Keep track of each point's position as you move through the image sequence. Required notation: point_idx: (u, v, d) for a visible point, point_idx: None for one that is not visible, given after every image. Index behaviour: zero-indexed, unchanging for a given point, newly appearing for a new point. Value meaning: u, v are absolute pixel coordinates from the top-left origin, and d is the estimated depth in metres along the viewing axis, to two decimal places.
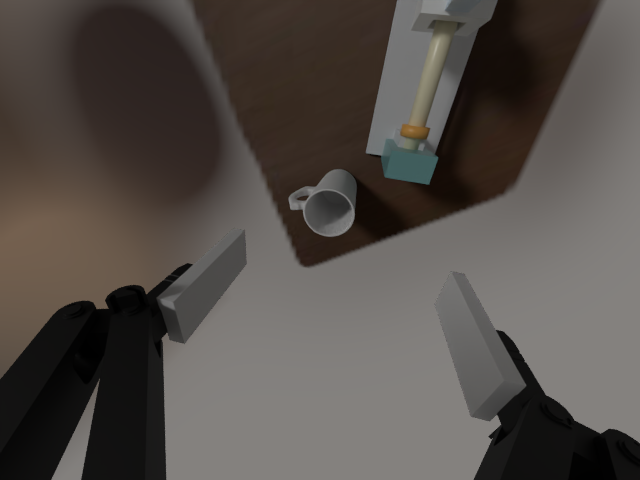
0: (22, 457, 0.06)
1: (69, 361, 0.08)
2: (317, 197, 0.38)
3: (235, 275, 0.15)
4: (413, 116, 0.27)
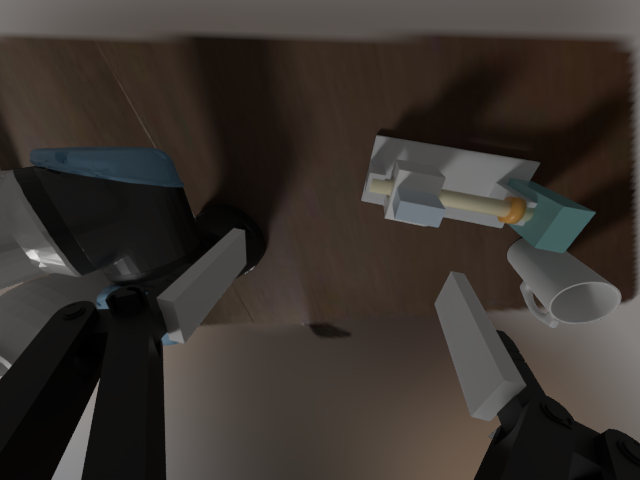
0: (22, 457, 0.06)
1: (69, 361, 0.08)
2: None
3: (235, 275, 0.15)
4: (497, 215, 0.29)
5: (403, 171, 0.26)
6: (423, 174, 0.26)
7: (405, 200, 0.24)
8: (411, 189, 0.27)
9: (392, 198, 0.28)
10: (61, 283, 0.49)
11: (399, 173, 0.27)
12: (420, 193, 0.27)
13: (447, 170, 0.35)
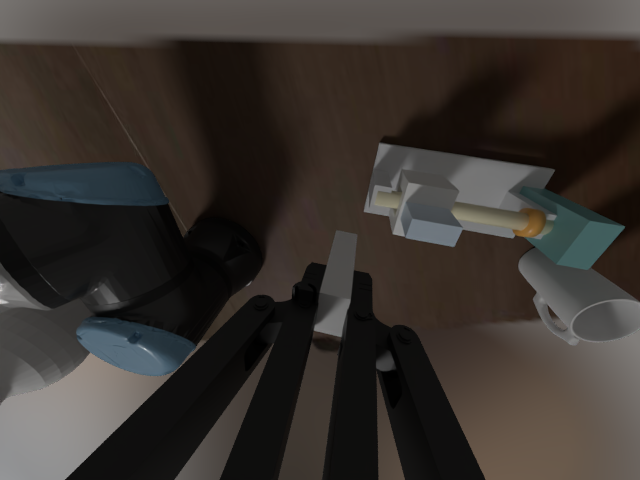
0: (192, 422, 0.07)
1: (244, 350, 0.09)
2: None
3: None
4: (513, 228, 0.27)
5: (412, 184, 0.24)
6: (434, 187, 0.24)
7: (418, 218, 0.21)
8: (421, 203, 0.25)
9: (400, 213, 0.26)
10: None
11: (408, 186, 0.24)
12: (431, 207, 0.24)
13: (455, 179, 0.32)
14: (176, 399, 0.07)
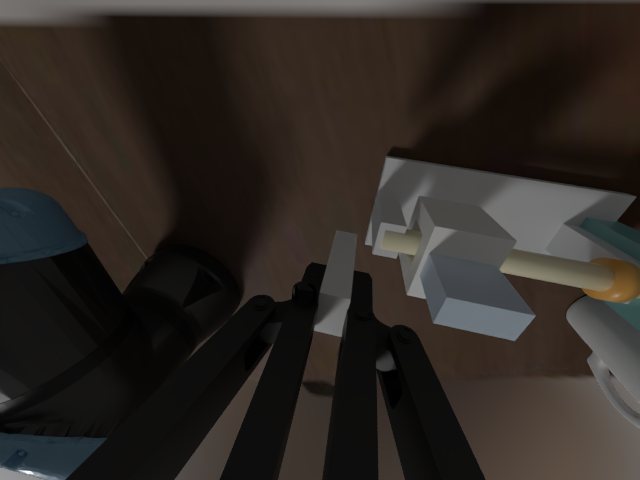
0: (192, 422, 0.07)
1: (243, 350, 0.09)
2: None
3: None
4: (587, 288, 0.18)
5: (441, 229, 0.15)
6: (476, 234, 0.15)
7: (456, 295, 0.13)
8: (454, 256, 0.16)
9: (420, 268, 0.17)
10: None
11: (434, 232, 0.16)
12: (470, 263, 0.16)
13: (491, 206, 0.24)
14: (176, 399, 0.07)
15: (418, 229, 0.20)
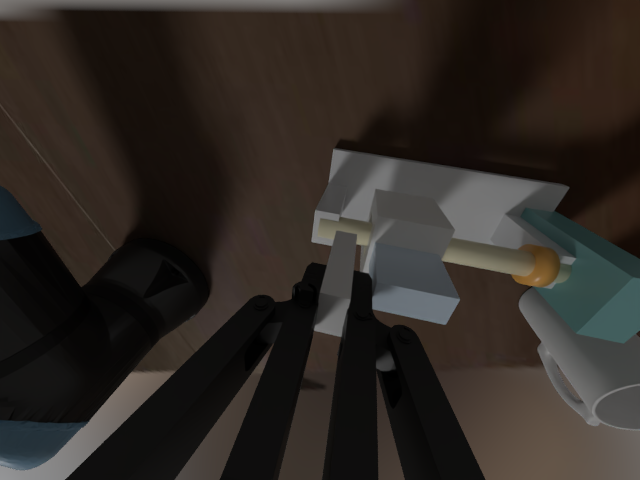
0: (192, 422, 0.07)
1: (244, 350, 0.09)
2: None
3: None
4: (512, 273, 0.19)
5: (384, 218, 0.16)
6: (417, 223, 0.16)
7: (387, 280, 0.13)
8: (398, 245, 0.17)
9: (369, 257, 0.17)
10: None
11: (377, 221, 0.16)
12: (413, 252, 0.16)
13: (435, 197, 0.24)
14: (176, 398, 0.07)
15: None
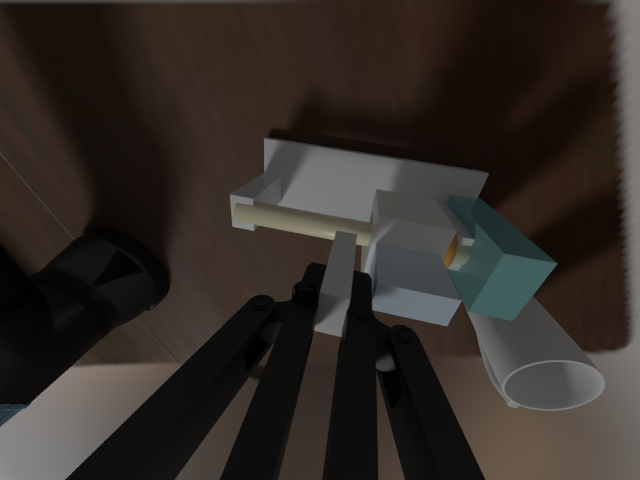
0: (192, 422, 0.07)
1: (244, 350, 0.09)
2: None
3: None
4: None
5: (385, 219, 0.16)
6: (418, 224, 0.16)
7: (388, 281, 0.13)
8: (399, 246, 0.16)
9: (369, 258, 0.17)
10: None
11: (378, 222, 0.16)
12: (414, 253, 0.16)
13: (365, 185, 0.25)
14: (176, 398, 0.07)
15: None
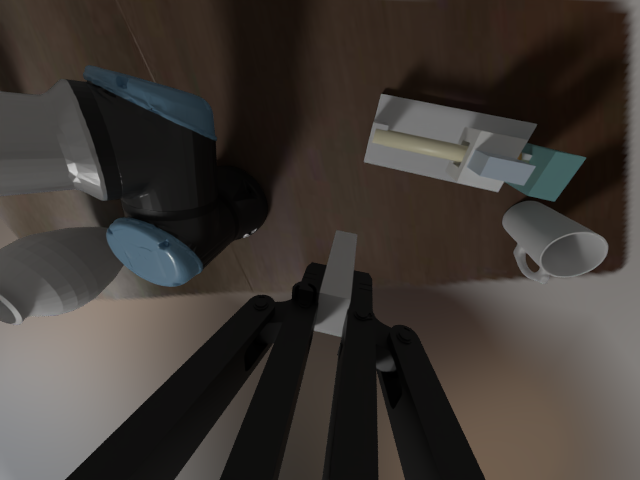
0: (192, 422, 0.07)
1: (244, 350, 0.09)
2: None
3: None
4: None
5: (484, 132, 0.27)
6: (505, 136, 0.26)
7: (494, 157, 0.24)
8: (489, 151, 0.27)
9: (468, 161, 0.28)
10: (66, 237, 0.50)
11: (480, 134, 0.27)
12: (499, 155, 0.27)
13: (448, 131, 0.36)
14: (176, 398, 0.07)
15: None
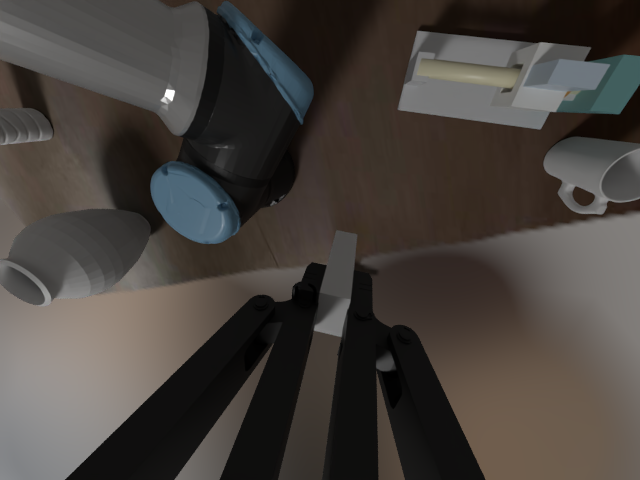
0: (192, 422, 0.07)
1: (244, 350, 0.09)
2: None
3: None
4: None
5: (544, 44, 0.25)
6: (566, 45, 0.25)
7: (563, 60, 0.23)
8: None
9: (524, 79, 0.27)
10: (89, 216, 0.48)
11: (539, 47, 0.26)
12: None
13: None
14: (176, 398, 0.07)
15: None
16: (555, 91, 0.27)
